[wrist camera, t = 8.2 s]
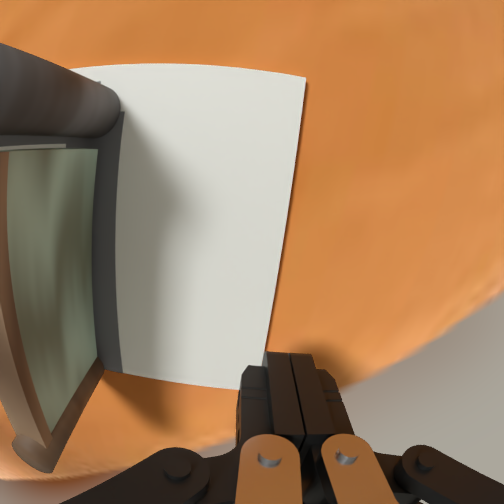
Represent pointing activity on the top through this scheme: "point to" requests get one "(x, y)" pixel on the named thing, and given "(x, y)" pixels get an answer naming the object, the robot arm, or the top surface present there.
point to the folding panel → (46, 297)
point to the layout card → (188, 216)
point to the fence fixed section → (51, 99)
